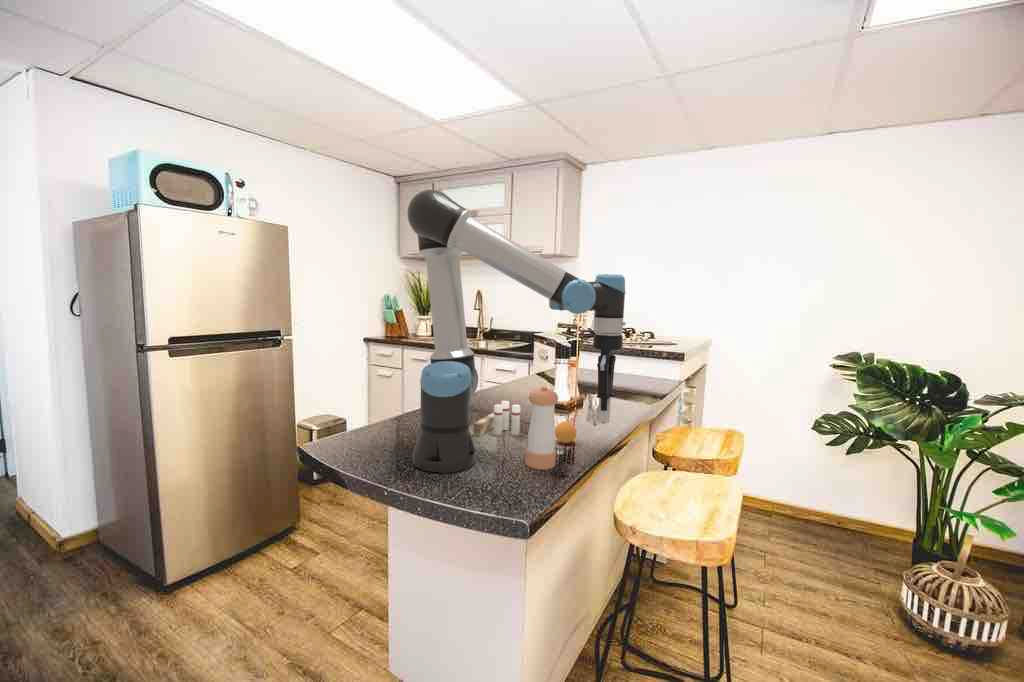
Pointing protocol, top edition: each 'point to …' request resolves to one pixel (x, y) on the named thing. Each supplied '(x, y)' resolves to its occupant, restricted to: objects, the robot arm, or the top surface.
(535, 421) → the salt shaker
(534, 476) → the top surface
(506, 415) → the pin
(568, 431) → the ball
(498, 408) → the pin
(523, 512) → the top surface
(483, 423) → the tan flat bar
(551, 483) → the top surface
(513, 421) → the front pin
